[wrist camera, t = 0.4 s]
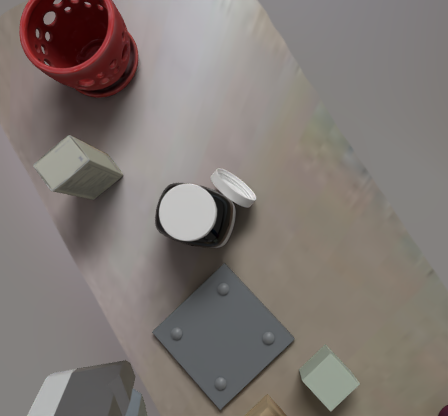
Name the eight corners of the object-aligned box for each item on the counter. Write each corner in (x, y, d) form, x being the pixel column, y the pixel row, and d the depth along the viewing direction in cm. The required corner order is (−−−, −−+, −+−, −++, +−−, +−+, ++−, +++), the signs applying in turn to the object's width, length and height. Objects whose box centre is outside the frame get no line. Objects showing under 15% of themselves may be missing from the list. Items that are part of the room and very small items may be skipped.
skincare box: (107, 153, 63) (70, 131, 51) (125, 176, 62) (91, 159, 50) (75, 180, 63) (30, 164, 51) (92, 202, 63) (51, 192, 51)
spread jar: (161, 235, 61) (137, 232, 50) (183, 161, 62) (164, 141, 50) (241, 257, 60) (235, 260, 48) (262, 181, 60) (261, 166, 49)
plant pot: (116, 8, 65) (83, -46, 53) (159, 75, 63) (134, 35, 52) (46, 54, 66) (-2, 11, 54) (87, 122, 64) (47, 93, 52)
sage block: (351, 372, 57) (359, 383, 52) (325, 397, 57) (330, 411, 52) (325, 344, 58) (330, 353, 53) (298, 369, 58) (302, 380, 53)
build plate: (294, 337, 58) (294, 339, 57) (220, 407, 58) (219, 410, 57) (224, 263, 60) (223, 263, 59) (154, 330, 60) (151, 332, 59)
